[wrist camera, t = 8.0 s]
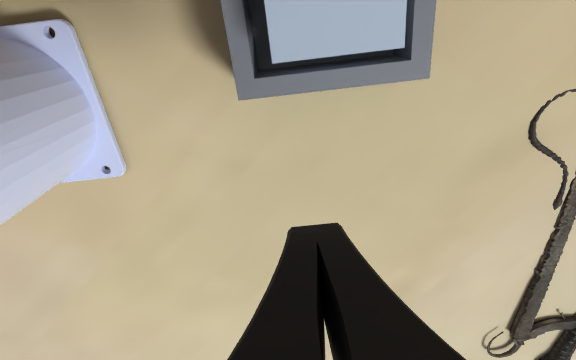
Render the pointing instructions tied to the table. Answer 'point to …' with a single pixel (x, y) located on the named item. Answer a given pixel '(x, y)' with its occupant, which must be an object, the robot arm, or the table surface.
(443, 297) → the table surface
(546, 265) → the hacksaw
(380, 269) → the table surface
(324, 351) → the robot arm
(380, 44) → the light blue square block
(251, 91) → the key housing
